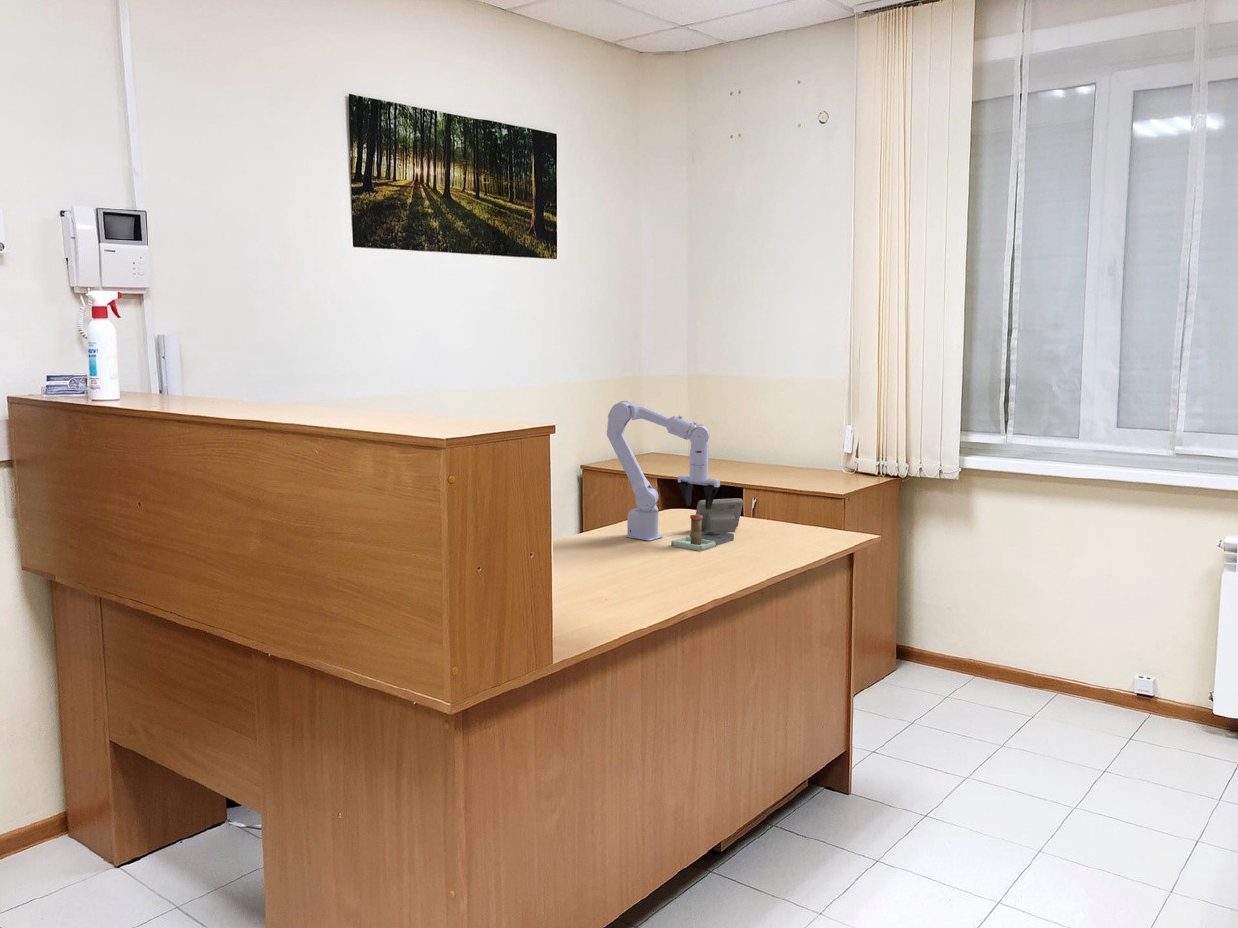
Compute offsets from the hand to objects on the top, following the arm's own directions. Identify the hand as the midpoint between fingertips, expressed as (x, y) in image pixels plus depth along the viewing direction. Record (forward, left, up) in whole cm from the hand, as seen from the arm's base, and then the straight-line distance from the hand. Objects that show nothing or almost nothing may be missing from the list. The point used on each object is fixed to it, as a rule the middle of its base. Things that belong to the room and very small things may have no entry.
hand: (698, 507), depth 310 cm
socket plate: (+4, +2, -10) cm, 11 cm away
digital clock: (-3, +17, -11) cm, 20 cm away
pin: (+4, -7, -10) cm, 13 cm away
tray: (+4, -8, -10) cm, 14 cm away
